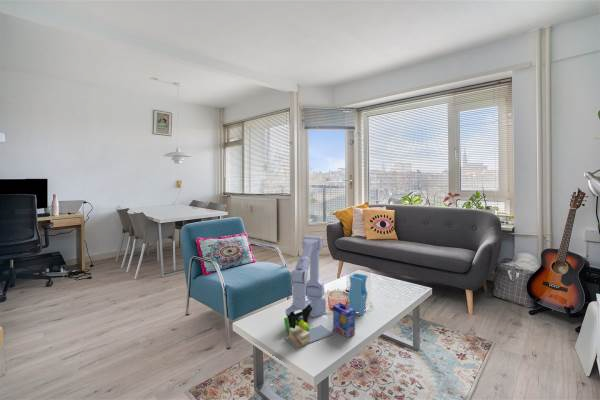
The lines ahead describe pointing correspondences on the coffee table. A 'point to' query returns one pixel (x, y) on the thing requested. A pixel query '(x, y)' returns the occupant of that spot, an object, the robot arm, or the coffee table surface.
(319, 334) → the mat
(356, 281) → the vase
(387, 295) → the coffee table surface
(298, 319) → the fruit basket
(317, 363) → the coffee table surface
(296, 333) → the tan rectangular block
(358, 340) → the coffee table surface
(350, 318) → the ink cartridge box
